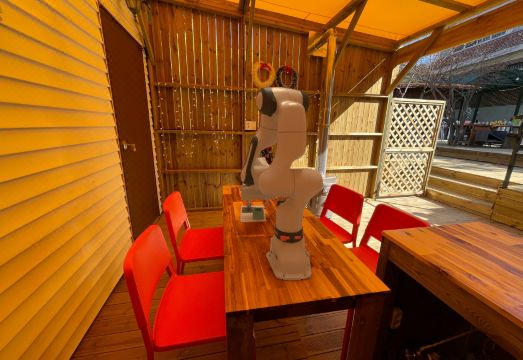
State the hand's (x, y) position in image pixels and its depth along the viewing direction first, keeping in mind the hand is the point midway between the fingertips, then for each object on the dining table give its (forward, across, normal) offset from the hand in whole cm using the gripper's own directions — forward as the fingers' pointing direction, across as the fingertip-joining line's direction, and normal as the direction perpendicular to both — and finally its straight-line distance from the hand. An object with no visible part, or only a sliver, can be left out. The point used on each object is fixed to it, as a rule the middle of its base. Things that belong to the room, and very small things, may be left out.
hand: (258, 206), depth 127 cm
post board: (+8, -3, +5) cm, 10 cm away
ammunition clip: (+9, +19, +17) cm, 27 cm away
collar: (+7, 0, -1) cm, 7 cm away
